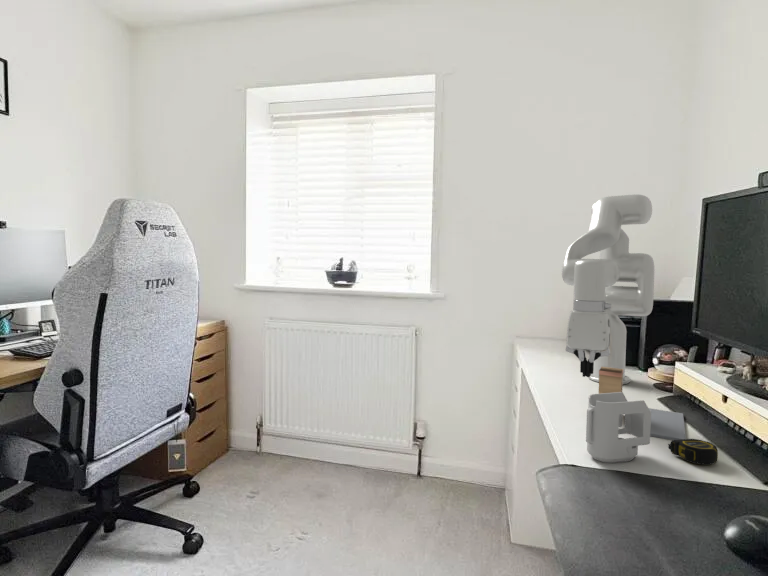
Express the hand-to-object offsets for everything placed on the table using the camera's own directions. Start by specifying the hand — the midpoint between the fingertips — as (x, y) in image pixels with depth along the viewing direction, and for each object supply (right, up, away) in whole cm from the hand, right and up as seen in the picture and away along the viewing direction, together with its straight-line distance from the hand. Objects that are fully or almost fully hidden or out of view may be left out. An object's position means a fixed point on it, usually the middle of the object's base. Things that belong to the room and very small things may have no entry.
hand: (586, 375), depth 117 cm
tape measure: (+9, -12, -27) cm, 31 cm away
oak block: (+5, -10, -2) cm, 11 cm away
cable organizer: (-6, -12, -26) cm, 29 cm away
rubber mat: (+13, -10, -8) cm, 18 cm away
